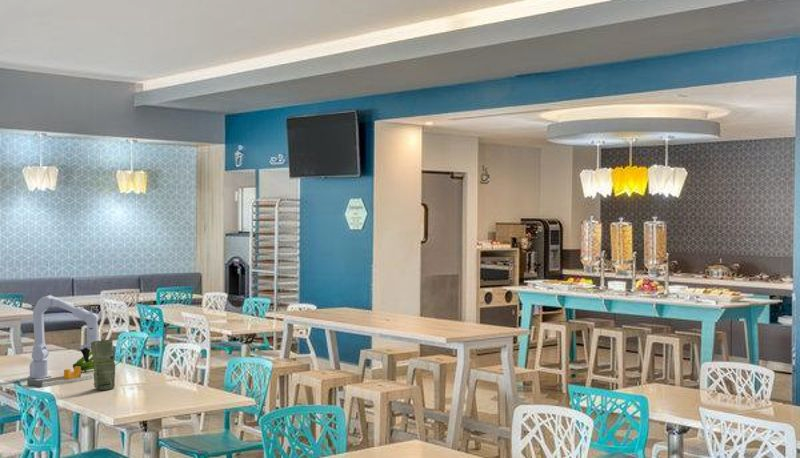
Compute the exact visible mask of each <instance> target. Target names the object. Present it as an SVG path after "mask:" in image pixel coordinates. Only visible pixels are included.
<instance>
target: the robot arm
mask: <svg viewBox="0 0 800 458" xmlns="http://www.w3.org/2000/svg"><path fill="white" fill-rule="evenodd" d="M35 304H36V305H35V306H34V308H33V310H32V317H33V318H32V319H33V321H32V322H33V335H34V336H33V339H34V344H33V347H32V353H31V358H32V361H31V362H30V363H29V375H28V377H27V378H29V379H35V380H41V379H47V378H52V375H48V372H49V371H48V356H49V349H48V347H47V344H46V341H45V339H46V338H45V319H44V317H45V316H44V313H45V312H47V310H48V309H50V308H56V307H57V308H58V307H59V308H60V309H64V310H65V311H66V312H67V311H68V312H70V313H72V315H73V317H75V318H77V319H79V320H81V321H83V322H85V324H86V344H81V345H79V349H80V353H81V354H82V357H83V356H84V359H85V361H84V362H89V359H90V356H89V352H91V343H92V342H94V341H99V327H98V326H99V324H98V322H99V320H100V319H99V318H100V317H99V315H98V314H97V313H96V312H92V311H91V310H87V309H85V308H84V306H74V305H72V304H70V303H69V302H66V301H65V300H62V299H61V298H60V297H57V296H54V295H52V294H49V295H45V296H43V297H41V298H40V299H38V300H37V303H35Z"/></svg>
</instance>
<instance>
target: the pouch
mask: <svg viewBox="0 0 800 458" xmlns="http://www.w3.org/2000/svg"><path fill="white" fill-rule="evenodd" d="M113 340H114V338H112V337H110V338H108V339H105V340H104V338H102V339H101V340H98V341H94V342H92V343H91V348H90V352H91V351H92V354H91V357H92V359H93V365H92V366H93V368H94V369H93V370H94V372H93V382H94V383H93V386H94V389H97V390H98V391H104V390H105V391H108V390H112V389H113V388H115V386H116V383H115V381H116V380H115V379H116V366H115V364H116V361H115V357H114V355H113V352H112V351H113V345H114V344H113Z"/></svg>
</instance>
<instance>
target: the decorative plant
mask: <svg viewBox="0 0 800 458" xmlns="http://www.w3.org/2000/svg"><path fill="white" fill-rule="evenodd" d="M116 345H118V343H117V344H116ZM114 348H115V346H112V349H114ZM117 354H119V352H118V353H114V354H113V353H112V355H113V356H114V355H117ZM120 363H122V361H118V362H117V363H115V367H116V366H117V365H118V364H120ZM127 363H128V364H129V362H128V361H126V364H127ZM92 365H93V359H92V351H91V350H90V351H89V362H85V359H84V356H83V355H82V356H81V357H80V359H78V360H77V361H76V362H75V363H73V364H72V368H73V369H74V367H76V366H81V372H83V371H84V372H86V371H90V370H94V368H93V366H92Z"/></svg>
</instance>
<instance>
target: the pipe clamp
mask: <svg viewBox="0 0 800 458" xmlns="http://www.w3.org/2000/svg"><path fill="white" fill-rule="evenodd" d="M71 371H72V370H71V369H63V376H64V379H63V380H66V379H72V378H78V377H82V371H81V366H76V367H74V368H73V372H71Z"/></svg>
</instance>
